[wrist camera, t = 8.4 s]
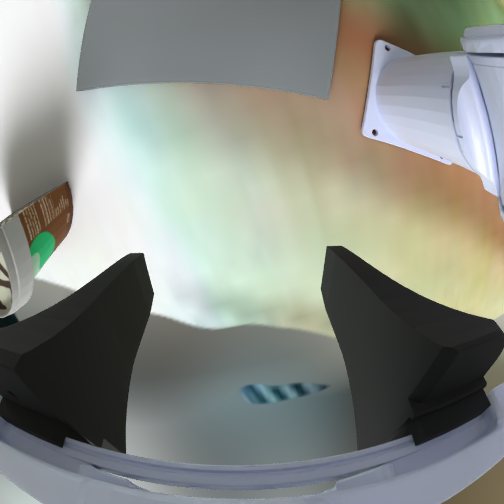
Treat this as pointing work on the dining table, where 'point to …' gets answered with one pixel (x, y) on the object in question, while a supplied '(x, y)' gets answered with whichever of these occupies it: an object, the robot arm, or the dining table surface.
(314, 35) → the mat
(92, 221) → the dining table surface
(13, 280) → the food container
